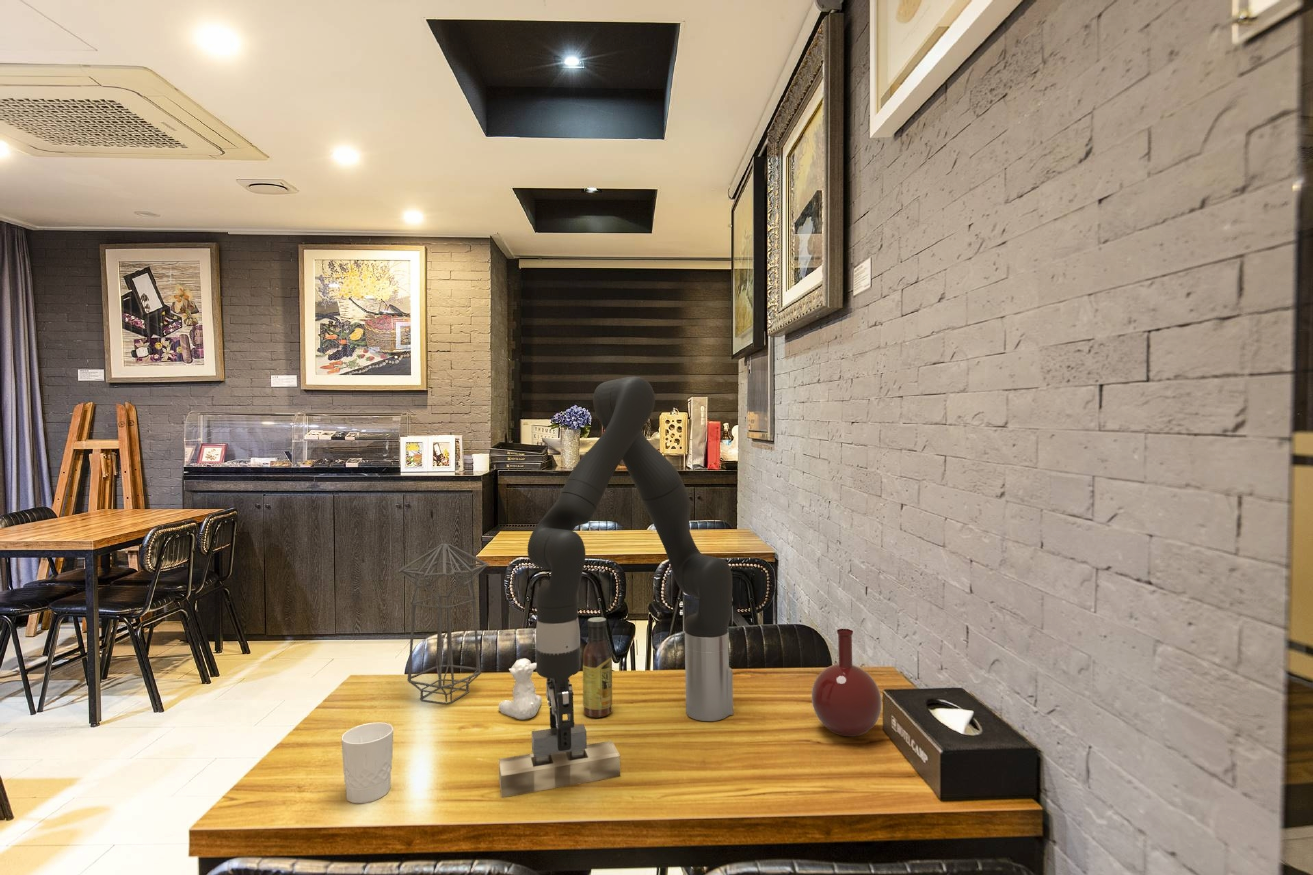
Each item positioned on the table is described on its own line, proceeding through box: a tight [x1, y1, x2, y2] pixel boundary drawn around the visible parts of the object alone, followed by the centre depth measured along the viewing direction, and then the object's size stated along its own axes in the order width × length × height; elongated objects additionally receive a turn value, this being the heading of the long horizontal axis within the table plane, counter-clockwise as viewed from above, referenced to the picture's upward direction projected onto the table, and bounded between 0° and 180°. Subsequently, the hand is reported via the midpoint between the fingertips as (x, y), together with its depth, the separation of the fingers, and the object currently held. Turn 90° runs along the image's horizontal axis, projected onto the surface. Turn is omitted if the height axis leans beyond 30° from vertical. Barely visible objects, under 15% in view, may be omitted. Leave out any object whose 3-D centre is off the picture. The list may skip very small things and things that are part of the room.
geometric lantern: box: [398, 543, 490, 706], centre depth 148 cm, size 16×16×35 cm
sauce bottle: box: [582, 616, 613, 719], centre depth 137 cm, size 7×6×20 cm
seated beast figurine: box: [498, 657, 542, 721], centre depth 137 cm, size 10×9×12 cm
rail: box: [498, 740, 621, 798], centre depth 110 cm, size 20×6×4 cm, turn 108°
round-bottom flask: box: [811, 628, 883, 737], centre depth 126 cm, size 13×13×20 cm
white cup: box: [341, 722, 394, 804], centre depth 107 cm, size 8×8×10 cm
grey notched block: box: [531, 723, 588, 766], centre depth 110 cm, size 9×3×8 cm, turn 107°
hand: (560, 738), depth 110 cm, fingers open, 8 cm apart
